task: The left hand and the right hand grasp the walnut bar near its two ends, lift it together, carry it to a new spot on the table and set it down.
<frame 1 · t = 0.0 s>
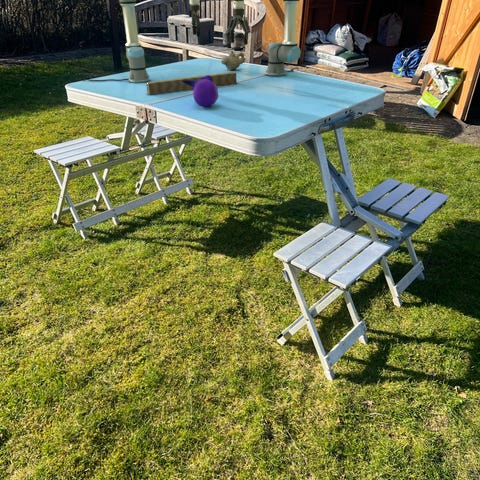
left hand: (196, 35, 349), 28 cm above the table, tool pointing down, fingers open, 13 cm apart
right hand: (239, 43, 301), 28 cm above the table, tool pointing down, fingers open, 13 cm apart
teapot: (233, 70, 373), on the table
toy: (202, 104, 272), on the table
bar: (193, 88, 313), on the table
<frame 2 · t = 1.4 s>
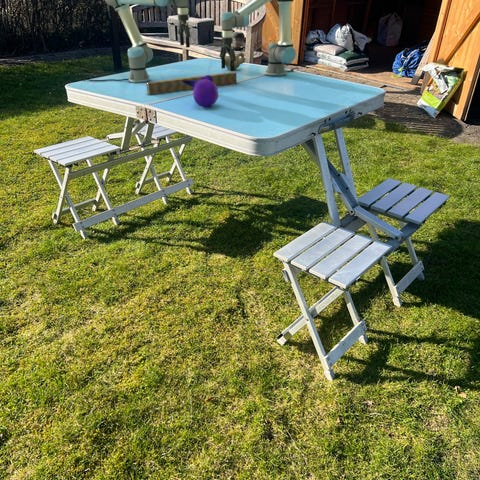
left hand: (185, 46, 334), 23 cm above the table, tool pointing down, fingers open, 13 cm apart
right hand: (227, 69, 320), 10 cm above the table, tool pointing down, fingers open, 13 cm apart
nothing on the table moved.
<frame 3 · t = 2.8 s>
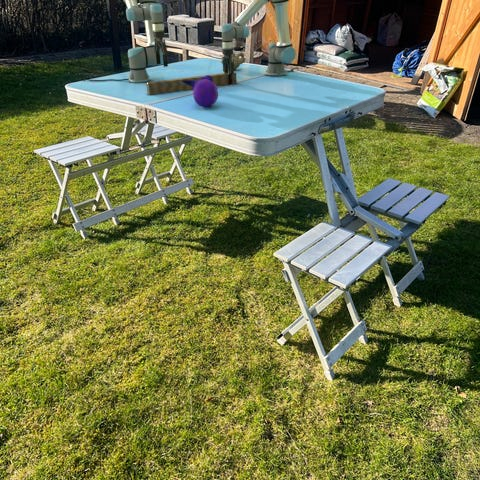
left hand: (162, 65, 303), 16 cm above the table, tool pointing down, fingers open, 13 cm apart
right hand: (228, 83, 324), 1 cm above the table, tool pointing down, fingers closed on bar, 5 cm apart
bar: (193, 88, 313), on the table, touching right hand
everything else where it was.
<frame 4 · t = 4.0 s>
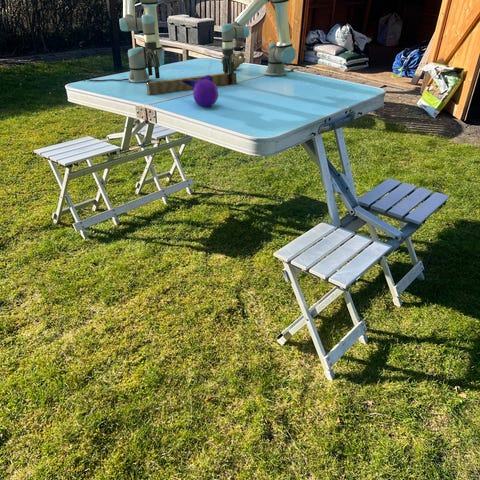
left hand: (154, 76, 296), 11 cm above the table, tool pointing down, fingers open, 13 cm apart
right hand: (228, 83, 324), 1 cm above the table, tool pointing down, fingers closed on bar, 5 cm apart
bar: (193, 88, 313), on the table, touching right hand
everything else where it was.
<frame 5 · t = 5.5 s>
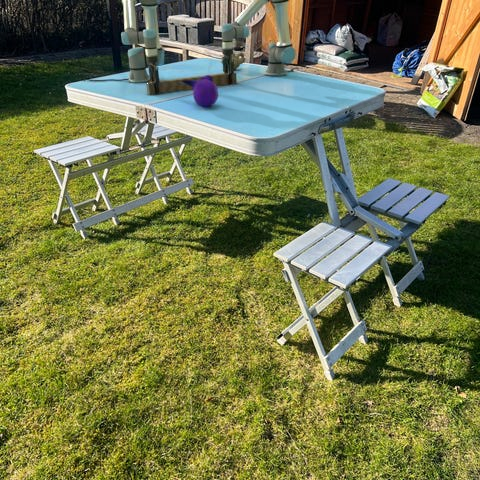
left hand: (155, 92, 301), 1 cm above the table, tool pointing down, fingers closed on bar, 5 cm apart
right hand: (228, 83, 324), 1 cm above the table, tool pointing down, fingers closed on bar, 5 cm apart
bar: (193, 88, 313), on the table, touching left hand, right hand
everything else where it was.
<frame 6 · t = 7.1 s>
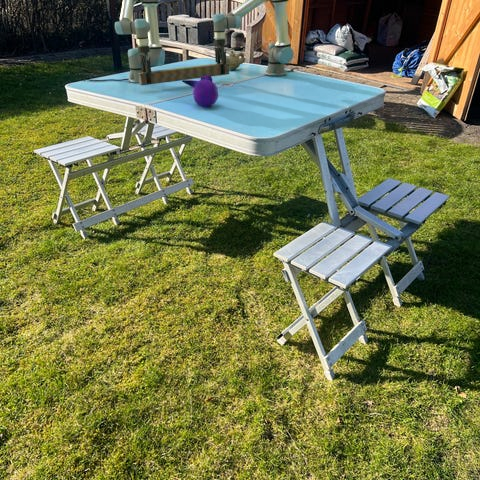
left hand: (147, 82, 302), 6 cm above the table, tool pointing down, fingers closed on bar, 5 cm apart
right hand: (221, 73, 325), 7 cm above the table, tool pointing down, fingers closed on bar, 5 cm apart
bar: (186, 79, 314), point 6 cm above the table, touching left hand, right hand
everything else where it was.
when the left hand's fingers open (3 cm above the table, at t = 9.2 s): bar drops 2 cm, on the table.
when the right hand's fingers open (3 cm above the table, at t = 9.2 s): bar drops 2 cm, on the table.
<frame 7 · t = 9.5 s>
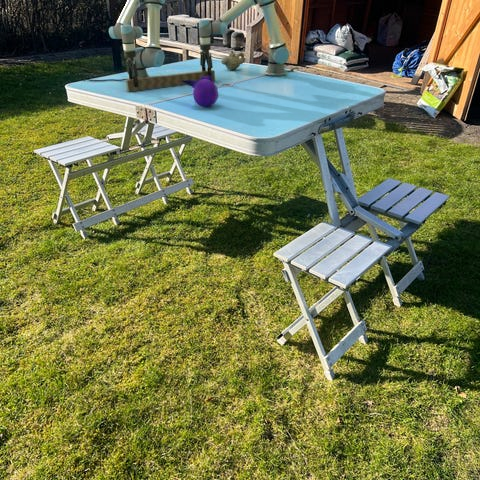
left hand: (134, 85, 309), 3 cm above the table, tool pointing down, fingers open, 9 cm apart
right hand: (206, 76, 332), 3 cm above the table, tool pointing down, fingers open, 9 cm apart
bar: (172, 85, 322), on the table
everything else where it was.
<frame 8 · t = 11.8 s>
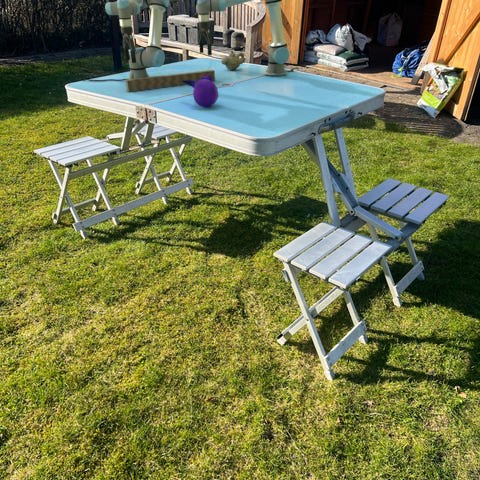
left hand: (131, 61, 301), 19 cm above the table, tool pointing down, fingers open, 13 cm apart
right hand: (205, 54, 324), 19 cm above the table, tool pointing down, fingers open, 13 cm apart
nothing on the table moved.
at the end: bar inside the target area (0.1 cm from its centre), on the table; bar tilted 0°; bar never tilted more than 1° during the clip; both hands held the bar at the same time; the left hand is holding nothing; the right hand is holding nothing; bar at rest at the end (0.0 cm/s) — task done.
